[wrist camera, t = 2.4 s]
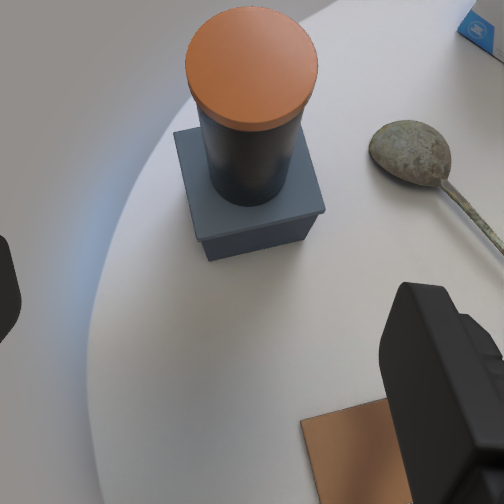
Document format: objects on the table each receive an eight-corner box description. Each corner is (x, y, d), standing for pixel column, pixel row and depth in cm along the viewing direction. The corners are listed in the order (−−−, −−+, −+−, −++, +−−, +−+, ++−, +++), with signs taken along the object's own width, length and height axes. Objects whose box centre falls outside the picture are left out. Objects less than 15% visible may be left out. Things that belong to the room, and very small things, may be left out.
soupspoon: (405, 113, 43) (353, 150, 42) (416, 94, 40) (361, 133, 39) (566, 288, 39) (512, 332, 38) (594, 282, 35) (535, 330, 35)
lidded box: (206, 264, 39) (196, 239, 30) (187, 179, 40) (172, 131, 32) (307, 241, 39) (326, 210, 31) (284, 158, 41) (295, 106, 32)
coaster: (325, 524, 34) (327, 526, 34) (299, 420, 36) (300, 421, 35) (420, 497, 35) (423, 499, 34) (390, 396, 36) (392, 397, 36)
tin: (216, 218, 30) (200, 135, 18) (198, 141, 31) (173, 19, 20) (298, 199, 31) (334, 107, 19) (277, 125, 32) (298, -5, 20)
